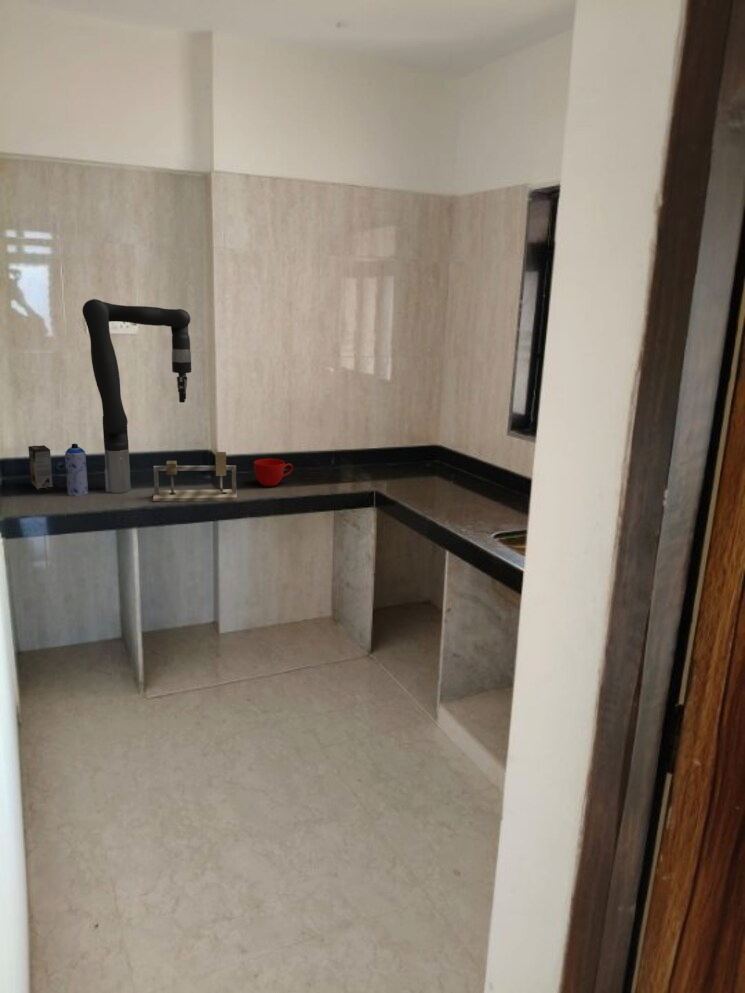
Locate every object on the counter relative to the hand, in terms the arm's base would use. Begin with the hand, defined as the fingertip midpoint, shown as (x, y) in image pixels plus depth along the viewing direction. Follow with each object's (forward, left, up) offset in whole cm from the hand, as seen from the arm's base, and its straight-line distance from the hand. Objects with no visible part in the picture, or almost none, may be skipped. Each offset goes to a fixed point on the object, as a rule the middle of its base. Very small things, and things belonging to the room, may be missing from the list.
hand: (182, 400), depth 304 cm
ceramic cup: (+37, +2, -36) cm, 52 cm away
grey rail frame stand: (+5, -17, -36) cm, 40 cm away
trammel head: (+15, -17, -34) cm, 41 cm away
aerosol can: (-41, -9, -36) cm, 55 cm away
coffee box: (-57, +3, -36) cm, 68 cm away
